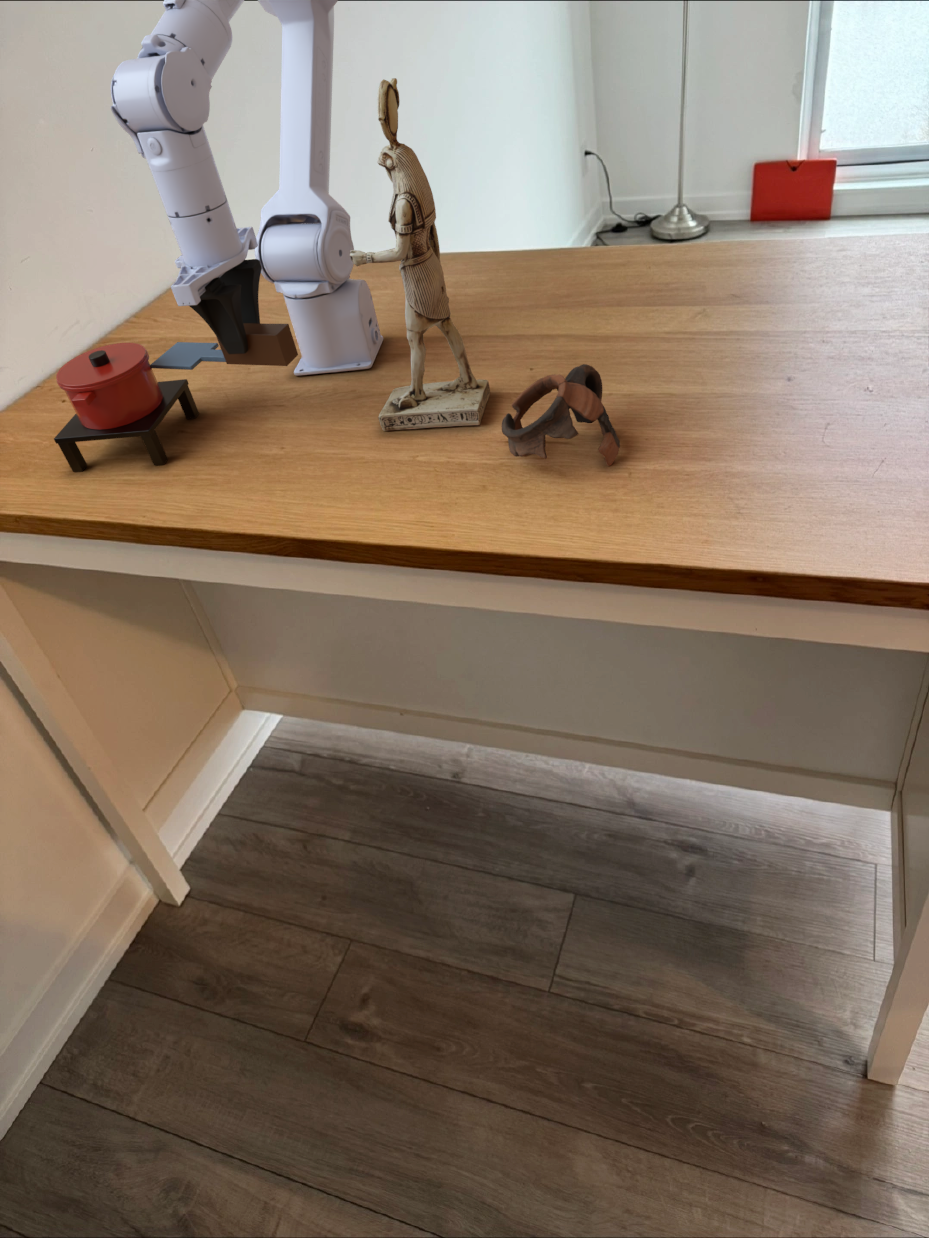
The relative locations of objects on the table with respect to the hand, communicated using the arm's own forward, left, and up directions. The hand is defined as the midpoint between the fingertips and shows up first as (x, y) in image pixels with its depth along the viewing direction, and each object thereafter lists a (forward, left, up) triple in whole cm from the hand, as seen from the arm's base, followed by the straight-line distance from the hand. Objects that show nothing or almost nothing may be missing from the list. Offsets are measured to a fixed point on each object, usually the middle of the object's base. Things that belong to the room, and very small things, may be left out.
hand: (245, 344), depth 90 cm
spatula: (+3, -1, -2) cm, 3 cm away
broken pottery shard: (-33, +11, -9) cm, 36 cm away
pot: (+15, +3, -9) cm, 17 cm away
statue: (-19, +2, -9) cm, 21 cm away
